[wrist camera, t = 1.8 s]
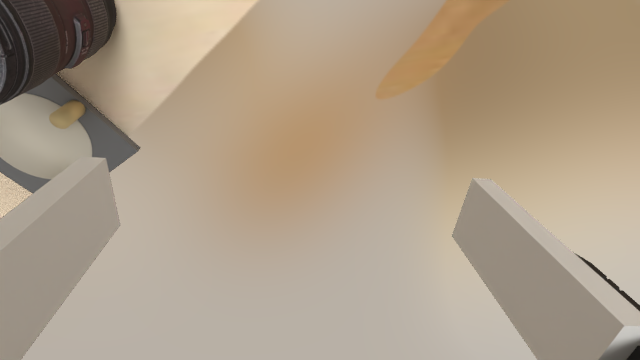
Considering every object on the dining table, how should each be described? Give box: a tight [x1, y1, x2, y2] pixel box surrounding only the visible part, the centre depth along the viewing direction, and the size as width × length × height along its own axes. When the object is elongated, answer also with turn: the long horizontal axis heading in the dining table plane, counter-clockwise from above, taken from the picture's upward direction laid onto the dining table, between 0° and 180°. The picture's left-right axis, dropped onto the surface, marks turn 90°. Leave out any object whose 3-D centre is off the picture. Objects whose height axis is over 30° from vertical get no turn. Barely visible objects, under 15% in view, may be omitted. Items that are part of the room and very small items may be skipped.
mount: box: [0, 74, 140, 193], centre depth 33 cm, size 13×13×4 cm
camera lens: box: [0, 0, 116, 105], centre depth 22 cm, size 8×8×15 cm
